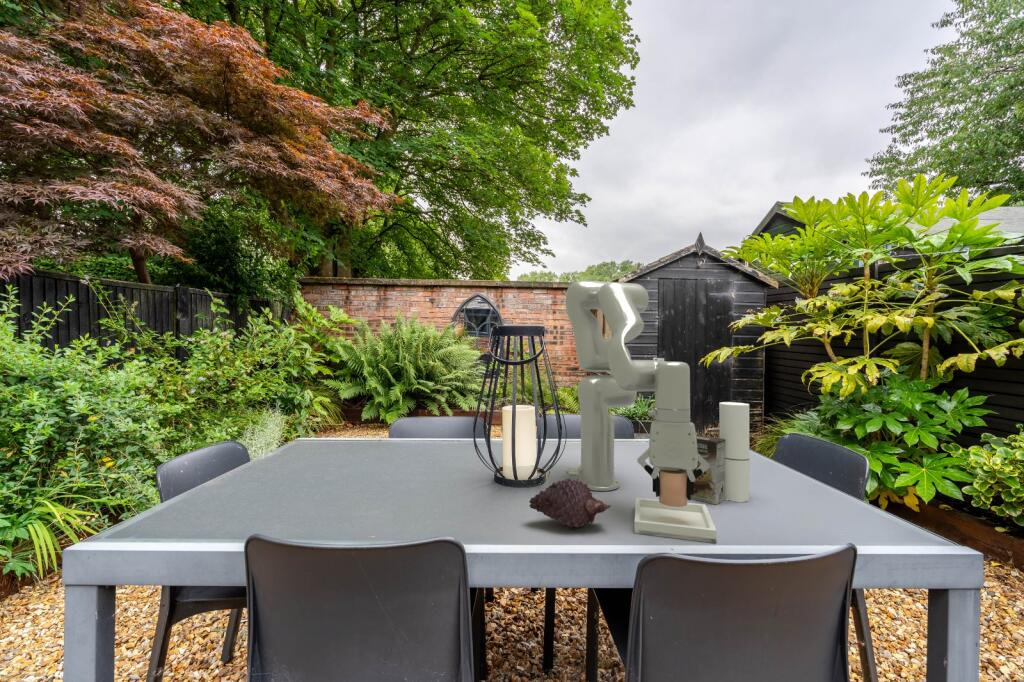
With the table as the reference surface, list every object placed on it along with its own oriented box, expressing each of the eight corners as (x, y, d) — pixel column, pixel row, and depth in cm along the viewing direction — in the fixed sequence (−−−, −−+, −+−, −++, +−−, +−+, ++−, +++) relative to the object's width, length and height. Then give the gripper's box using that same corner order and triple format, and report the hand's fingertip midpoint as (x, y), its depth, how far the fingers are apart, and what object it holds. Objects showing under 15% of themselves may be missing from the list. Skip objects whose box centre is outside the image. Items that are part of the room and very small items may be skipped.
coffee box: (681, 496, 118) (681, 436, 118) (691, 491, 122) (691, 433, 123) (716, 505, 111) (716, 441, 112) (725, 499, 116) (725, 438, 116)
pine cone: (527, 532, 94) (527, 485, 94) (531, 515, 104) (531, 472, 104) (612, 536, 92) (612, 488, 92) (607, 518, 102) (607, 475, 102)
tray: (634, 533, 94) (634, 521, 94) (635, 507, 109) (635, 497, 109) (716, 543, 89) (716, 530, 89) (705, 515, 105) (705, 504, 105)
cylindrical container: (742, 494, 121) (742, 402, 121) (754, 502, 114) (754, 405, 114) (715, 492, 121) (715, 401, 122) (725, 501, 114) (725, 405, 115)
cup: (659, 505, 97) (659, 473, 97) (657, 496, 103) (657, 465, 103) (688, 507, 96) (688, 475, 96) (685, 498, 101) (685, 467, 101)
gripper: (632, 416, 99) (632, 498, 98) (716, 420, 94) (717, 506, 93) (633, 412, 106) (633, 488, 105) (711, 415, 101) (712, 495, 100)
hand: (672, 495), depth 99 cm, fingers closed on cup, 6 cm apart
